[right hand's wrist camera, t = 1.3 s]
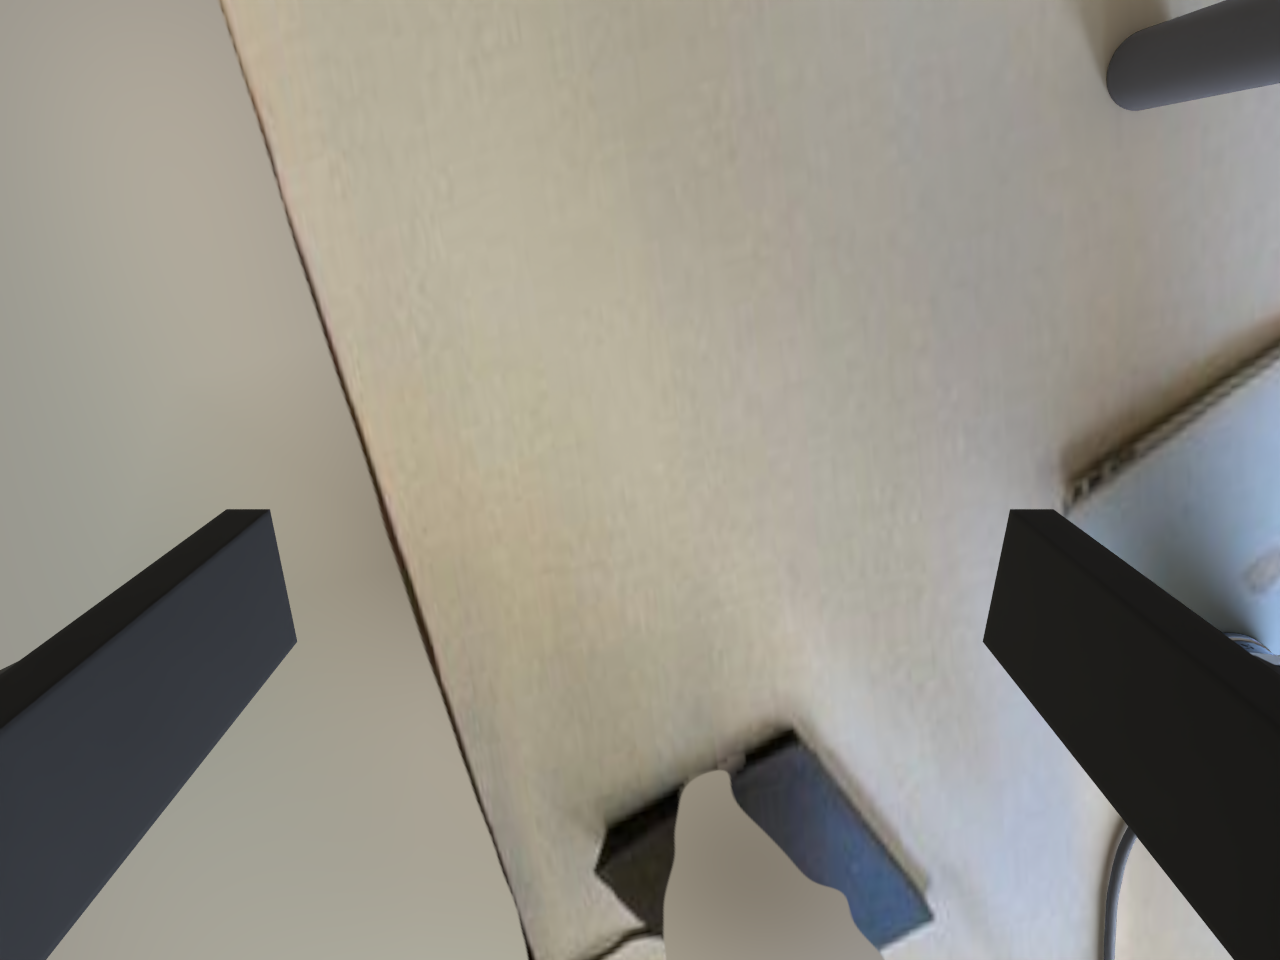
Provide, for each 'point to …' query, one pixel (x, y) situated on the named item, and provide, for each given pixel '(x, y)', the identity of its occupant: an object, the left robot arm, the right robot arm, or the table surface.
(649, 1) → the table surface
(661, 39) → the table surface
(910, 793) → the table surface
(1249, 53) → the bottle
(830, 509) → the table surface
